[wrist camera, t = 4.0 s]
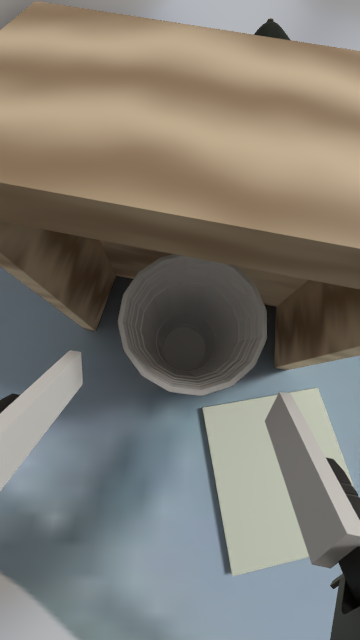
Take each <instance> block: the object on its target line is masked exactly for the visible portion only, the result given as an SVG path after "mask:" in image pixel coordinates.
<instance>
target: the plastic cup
mask: <svg viewBox="0 0 360 640" xmlns="http://www.w3.org/2000/svg"><path fill="white" fill-rule="evenodd" d="M118 326H119V331H120V336H121V340H122V345H123V350H124V352H125V353H126V354H127V356H128V357H129V359H130V360H131V361H132V363H133V364H134V366H135V367H136V368H137V370H138V371H139V373H140V374H141V375H142V376H143V377H145V378H147V379H148V380H150V381H152V382H153V383H155V384H157V385H159V386H160V387H162V388H164V389H165V390H167V391H169V392H174V393H183V394H191V395H200V396H203V395H206V394H209V393H212V392H215V391H219V390H222V389H225V388H228V387H231V386H233V385H234V384H235V383H236V382H238V381H239V380H240V379H241V378H242V377H243V376H244V375H245V374H247V373H248V372H249V371H250V370H251V369H252V368H253V367H254V366H255V365H256V363H257V360H258V358H259V356H260V354H261V351H262V349H263V347H264V344H265V342H266V340H267V310H266V308H265V305H264V303H263V301H262V298H261V296H260V293H259V291H258V289H257V286H256V285H255V284H254V283H253V282H252V281H251V280H250V279H249V277H248V276H247V275H246V274H245V273H244V272H243V271H242V270H241V269H240V268H239V267H238V266H234V265H229V264H224V263H218V262H213V261H208V260H202V259H197V258H192V257H187V256H181V255H176V254H172V255H168V256H164V257H160V258H159V259H157V260H156V261H154V262H153V263H151V264H150V265H148V266H147V267H146V268H144V269H143V270H141V271H140V272H138V274H137V275H136V277H135V278H134V280H133V281H132V282H131V284H130V285H129V287H128V288H127V290H126V291H125V293H124V294H123V298H122V303H121V308H120V313H119V318H118Z"/></svg>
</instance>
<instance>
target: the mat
mask: <svg viewBox="0 0 360 640" xmlns="http://www.w3.org/2000/svg"><path fill="white" fill-rule="evenodd" d="M288 394H291V395H292V397H293V398H294V400H295V402H296V404H297V406H298V408H299V410H300V411H301V413H302V415H303V417H304V419H305V421H306V422H307V424H308V426H309V428H310V430H311V432H312V433H313V435H314V437H315V439H316V441H317V443H318V445H319V446H320V448H321V450H322V452H323V454H324V456H325V457H327V458H331V459H334V460H335V461H336V462H337V464H338V465H339V466H340V467H341V468H342V469H343V470H344V472H345V473H346V475H347V477H348V479H349V480H350V482H351V484H352V486H353V487H354V485H353V483H352V480H351V477H350V474H349V472H348V469H347V466H346V464H345V461H344V458H343V455H342V453H341V450H340V447H339V444H338V442H337V439H336V436H335V434H334V431H333V428H332V425H331V423H330V420H329V417H328V414H327V412H326V409H325V406H324V404H323V401H322V398H321V395H320V393H319V390H318V388H312V389H306V390H301V391H295V392H289V393H288ZM277 395H278V394H277ZM277 395H272V396H266V397H260V398H254V399H249V400H243V401H237V402H231V403H225V404H220V405H214V406H208V407H202V409H203V415H204V421H205V426H206V432H207V438H208V443H209V449H210V455H211V460H212V466H213V472H214V477H215V483H216V489H217V494H218V500H219V506H220V511H221V517H222V523H223V528H224V534H225V540H226V546H227V551H228V557H229V563H230V568H231V573H232V576H236V575H240V574H244V573H248V572H252V571H256V570H260V569H264V568H268V567H272V566H276V565H279V564H283V563H287V562H291V561H295V560H299V559H303V558H307V557H309V554H308V551H307V548H306V545H305V542H304V539H303V536H302V533H301V530H300V527H299V524H298V521H297V518H296V515H295V512H294V509H293V506H292V503H291V500H290V496H289V493H288V490H287V487H286V484H285V481H284V478H283V475H282V472H281V469H280V466H279V463H278V460H277V457H276V454H275V451H274V448H273V445H272V442H271V439H270V436H269V433H268V430H267V427H266V423H265V419H266V417H267V415H268V413H269V411H270V409H271V407H272V405H273V403H274V401H275V399H276V397H277ZM354 489H355V488H354Z"/></svg>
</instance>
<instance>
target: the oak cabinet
mask: <svg viewBox="0 0 360 640" xmlns="http://www.w3.org/2000/svg"><path fill="white" fill-rule="evenodd" d="M172 254H176V255H181V256H187V257H192V258H197V259H202V260H208V261H213V262H218V263H224V264H229V265H234V266H238V267H239V268H240V269H241V270H242V271H243V272H244V273H245V274H246V275H247V276H248V277H249V279H250V280H251V281H252V282H253V283H254V284H255V285H256V286H257V289H258V291H259V293H260V296H261V298H262V301H263V303H264V304H265V305H270V306H275V307H276V334H275V366H274V368H278V369H283V370H290V369H295V368H300V367H305V366H309V365H314V364H319V363H324V362H329V361H334V360H339V359H344V358H349V357H354V356H359V355H360V51H356V50H349V49H343V48H336V47H329V46H323V45H317V44H310V43H304V42H297V41H291V40H284V39H278V38H271V37H265V36H259V35H251V34H245V33H239V32H233V31H226V30H220V29H213V28H207V27H200V26H194V25H187V24H181V23H173V22H168V21H161V20H155V19H148V18H141V17H135V16H129V15H122V14H116V13H109V12H103V11H97V10H90V9H84V8H77V7H71V6H64V5H58V4H51V3H44V2H38V1H35V2H34V3H33V4H31V5H30V6H29V7H28V8H27V9H25V10H24V11H23V12H22V13H21V14H20V15H18V16H17V17H16V18H15V19H13V20H12V21H11V22H10V23H9V24H7V25H6V26H5V27H4V28H3V29H1V30H0V266H1V267H2V268H3V269H5V270H6V271H7V272H9V273H10V274H11V275H13V276H14V277H15V278H17V279H18V280H19V281H21V282H22V283H23V284H25V285H26V286H27V287H29V288H30V289H31V290H33V291H34V292H36V293H37V294H38V295H40V296H41V297H42V298H44V299H45V300H46V301H48V302H49V303H50V304H52V305H53V306H54V307H56V308H57V309H58V310H60V311H61V312H62V313H64V314H65V315H66V316H68V317H69V318H70V319H72V320H73V321H74V322H76V323H77V324H79V325H80V326H81V327H83V328H84V329H87V330H92V331H96V329H97V327H98V324H99V321H100V318H101V316H102V313H103V310H104V307H105V305H106V302H107V299H108V296H109V293H110V291H111V288H112V285H113V282H114V280H115V277H116V276H122V277H127V278H132V279H134V278H135V277H136V275H137V274H138V272H140V271H141V270H143V269H144V268H146V267H147V266H148V265H150V264H151V263H153V262H154V261H156V260H157V259H159V258H160V257H164V256H168V255H172Z"/></svg>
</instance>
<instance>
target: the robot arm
mask: <svg viewBox="0 0 360 640" xmlns="http://www.w3.org/2000/svg"><path fill="white" fill-rule="evenodd" d="M82 384H83V378H82V359H81V352H77V351H72V350H69V351H68V352H67V353H66V354H65V355H64V356H63V357H62V358H61V359H59V360H58V361H57V362H56V363H55V364H54V365H53V366H52V367H51V368H50V369H48V370H47V371H46V372H45V373H44V374H43V375H42V376H41V377H40V378H39V379H38V380H36V381H35V382H34V383H33V384H32V385H31V386H30V387H29V388H28V389H27V390H25V391H24V392H23V393H22V394H21V395H17V394H11V395H9V396H7V397H5V398H3V399H2V400H0V491H1V490H2V488H3V487H4V486H5V485H6V483H7V482H8V481H9V479H10V478H11V477H12V475H13V474H14V473H15V472H16V470H17V469H18V468H19V466H20V465H21V464H22V462H23V461H24V460H25V459H26V457H27V456H28V455H29V453H30V452H31V451H32V449H33V448H34V447H35V446H36V444H37V443H38V442H39V440H40V439H41V438H42V436H43V435H44V434H45V433H46V431H47V430H48V429H49V427H50V426H51V425H52V423H53V422H54V421H55V420H56V418H57V417H58V416H59V414H60V413H61V412H62V410H63V409H64V408H65V407H66V405H67V404H68V403H69V401H70V400H71V399H72V397H73V396H74V395H75V394H76V392H77V391H78V390H79V388H80V387H81V386H82ZM265 423H266V427H267V430H268V433H269V436H270V439H271V442H272V445H273V448H274V451H275V454H276V457H277V460H278V463H279V466H280V469H281V472H282V475H283V478H284V481H285V484H286V487H287V490H288V493H289V496H290V500H291V503H292V506H293V509H294V512H295V515H296V518H297V521H298V524H299V527H300V530H301V533H302V536H303V539H304V542H305V545H306V548H307V551H308V554H309V557H310V560H311V563H312V564H313V565H318V566H322V567H327V568H332V567H333V566H334V565H336V564H337V563H338V562H339V565H340V567H341V570H342V572H343V574H342V575H340V576H339V577H337V578H336V579H335V580H333V581H332V583H331V585H330V586H331V587H332V588H333V589H335V588H336V587H337V586H339V588H338V594H337V600H336V607H335V613H334V619H333V626H332V632H331V638H330V640H360V498H359V497H358V494H357V492H356V490H355V489H354V487H353V486H352V484H351V482H350V480H349V479H348V477H347V475H346V473H345V472H344V470H343V469H342V468H341V467H340V466H339V465H338V464H337V462H336V461H335V460H334V459H331V458H327V457H325V456H324V454H323V452H322V450H321V448H320V446H319V445H318V443H317V441H316V439H315V437H314V435H313V433H312V432H311V430H310V428H309V426H308V424H307V422H306V421H305V419H304V417H303V415H302V413H301V411H300V410H299V408H298V406H297V404H296V402H295V400H294V398H293V397H292V395H291V394H288V393H283V392H279V393H278V395H277V397H276V399H275V401H274V403H273V405H272V407H271V409H270V411H269V413H268V415H267V417H266V419H265Z"/></svg>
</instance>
